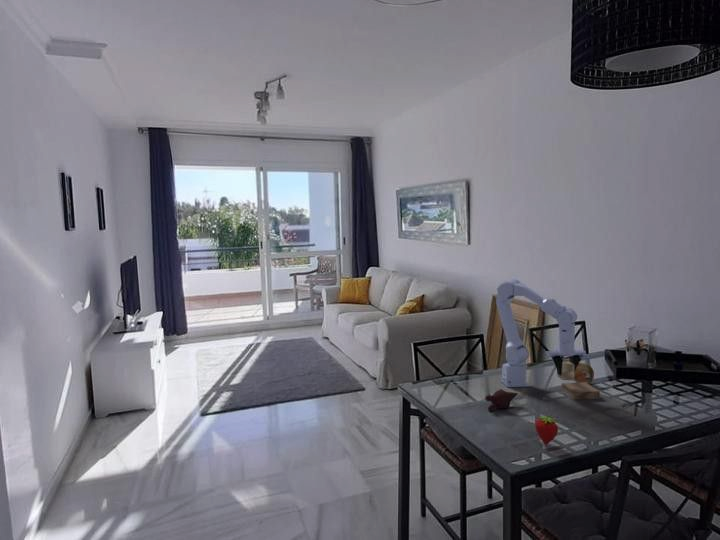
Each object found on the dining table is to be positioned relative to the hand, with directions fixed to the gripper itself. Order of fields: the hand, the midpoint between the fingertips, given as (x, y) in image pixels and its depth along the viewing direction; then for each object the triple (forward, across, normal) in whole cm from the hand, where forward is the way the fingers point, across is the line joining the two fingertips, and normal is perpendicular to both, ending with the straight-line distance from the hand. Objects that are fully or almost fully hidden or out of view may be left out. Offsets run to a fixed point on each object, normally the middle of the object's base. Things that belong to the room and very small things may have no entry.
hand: (565, 374), depth 183 cm
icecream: (+9, -28, -10) cm, 31 cm away
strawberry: (+9, -25, -39) cm, 47 cm away
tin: (+9, +13, +16) cm, 23 cm away
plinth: (+8, +6, 0) cm, 10 cm away
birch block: (+2, 0, 0) cm, 2 cm away
